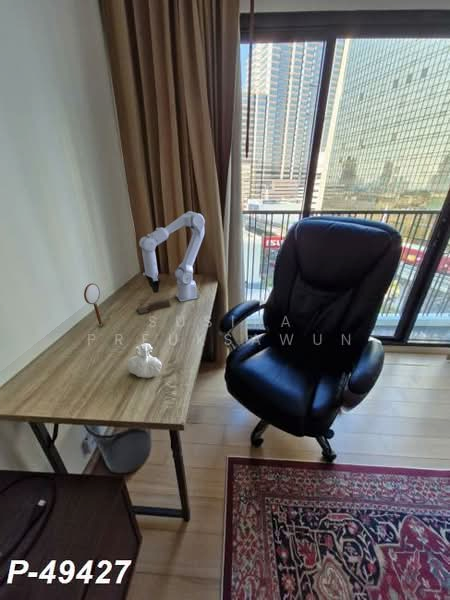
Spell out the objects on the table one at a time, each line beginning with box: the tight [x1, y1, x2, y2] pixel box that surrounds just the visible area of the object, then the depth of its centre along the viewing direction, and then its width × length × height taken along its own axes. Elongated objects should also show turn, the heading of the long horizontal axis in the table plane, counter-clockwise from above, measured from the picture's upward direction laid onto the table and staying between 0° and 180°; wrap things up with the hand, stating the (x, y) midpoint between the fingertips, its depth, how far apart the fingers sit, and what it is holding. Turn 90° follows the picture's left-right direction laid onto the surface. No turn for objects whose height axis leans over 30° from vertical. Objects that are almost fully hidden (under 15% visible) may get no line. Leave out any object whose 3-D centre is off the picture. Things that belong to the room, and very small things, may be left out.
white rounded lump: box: [127, 342, 163, 379], centre depth 83 cm, size 12×8×11 cm
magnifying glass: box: [83, 283, 103, 327], centre depth 106 cm, size 9×2×20 cm, turn 169°
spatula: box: [137, 298, 171, 315], centre depth 123 cm, size 15×5×3 cm, turn 116°
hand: (154, 289), depth 123 cm, fingers open, 7 cm apart
